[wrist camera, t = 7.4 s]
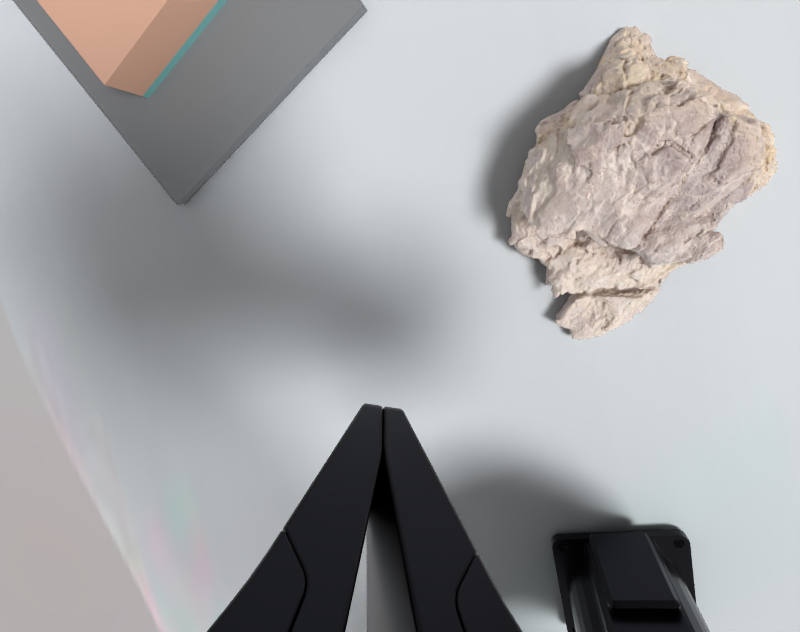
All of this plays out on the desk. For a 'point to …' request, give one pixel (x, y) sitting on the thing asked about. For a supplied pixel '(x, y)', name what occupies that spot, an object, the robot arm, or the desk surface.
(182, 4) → the tile
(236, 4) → the mat
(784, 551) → the desk surface
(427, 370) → the desk surface
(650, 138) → the rock
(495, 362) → the desk surface
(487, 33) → the desk surface
